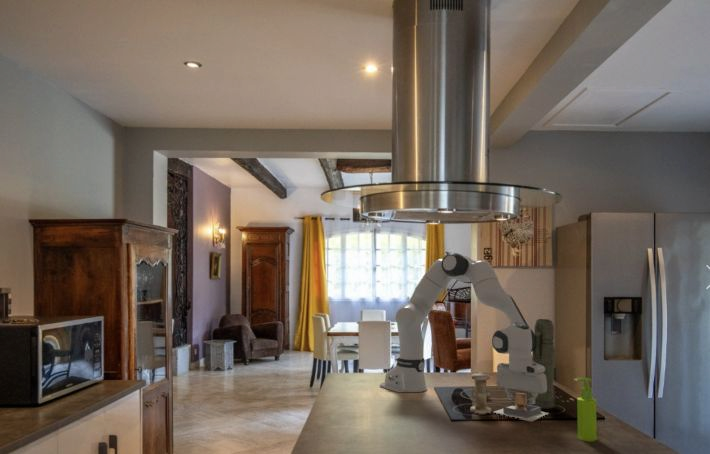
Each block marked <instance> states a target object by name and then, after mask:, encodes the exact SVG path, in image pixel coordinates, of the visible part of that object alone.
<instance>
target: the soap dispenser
mask: <svg viewBox="0 0 710 454" xmlns="http://www.w3.org/2000/svg"><path fill="white" fill-rule="evenodd" d="M573 380H574V382H577V383H578V382H583V386H582V387H581V388H580V390H581V391H580V394H581V396H579V397H577V399H576V401H577V403H576V405H577V407H576V408H577V409H576V410H577V439H578V440H581V441H583V440H584V442H595V440H596V441H597V439H598V438H597V437H598V435H597V434H598V431H597V399H596V398H593V389H592V388H591V387H590V382H592V379H591V378H589V377H577V378H574V379H573Z"/></svg>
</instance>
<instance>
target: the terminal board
mask: <svg viewBox="0 0 710 454" xmlns="http://www.w3.org/2000/svg"><path fill="white" fill-rule="evenodd" d="M494 413H496V414H495V415H498V414H500V416H503V415H505V416H504V417H508V416H509V418H512V417H515V418H514V419H517V418H519V419H518V420H523V421H526V422H534V421H536V420H539V419H541V417H542V418H544V417H546V416H545V415H547V416H549V415H550V413H549V412H545V411H542V408H541V407H537V406H532V405H531V404H527V411H521V410H516V409H515V405H510V406H504V407H502V408H501V409H498V410H494V411H493V414H494ZM548 414H549V415H548ZM543 416H544V417H543Z"/></svg>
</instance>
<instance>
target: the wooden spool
mask: <svg viewBox="0 0 710 454" xmlns="http://www.w3.org/2000/svg"><path fill="white" fill-rule="evenodd" d="M471 379H472V380H474V405H473V406H470V409H469V410H470V412H471V413H472V412H474V413H473V414H476V413H479V414H478V415H487V414H486V413H489V414H491V413H492V408H491V407H489V406H487V396H486V390H487V381H488V380H490V379H491V377H490V375H489V374H487V373H485V374H477V373H472V374H471Z"/></svg>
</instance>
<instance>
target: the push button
mask: <svg viewBox="0 0 710 454" xmlns="http://www.w3.org/2000/svg"><path fill="white" fill-rule="evenodd" d="M476 374H486V372H484V371H476ZM490 394H491V393H490V392H488V390H487V389H486V397H487V396H488V397H489V396H491V395H490Z"/></svg>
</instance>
